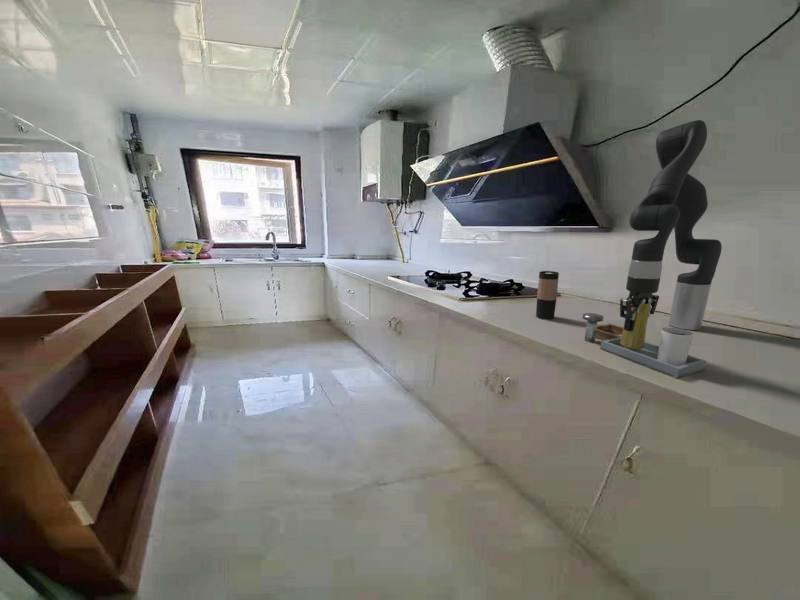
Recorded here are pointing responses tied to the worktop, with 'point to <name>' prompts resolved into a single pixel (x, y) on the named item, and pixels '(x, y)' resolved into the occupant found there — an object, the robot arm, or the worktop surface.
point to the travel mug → (547, 294)
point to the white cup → (674, 346)
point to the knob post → (591, 325)
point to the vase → (636, 329)
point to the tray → (653, 358)
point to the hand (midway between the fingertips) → (634, 329)
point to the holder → (605, 328)
